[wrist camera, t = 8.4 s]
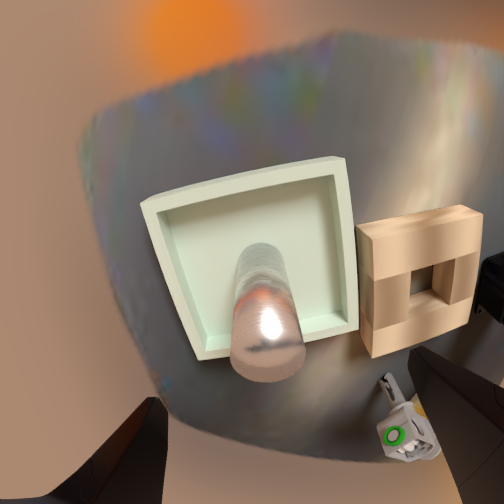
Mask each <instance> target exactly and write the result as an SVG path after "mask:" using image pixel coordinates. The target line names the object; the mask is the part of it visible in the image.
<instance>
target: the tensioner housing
mask: <svg viewBox="0 0 504 504" xmlns="http://www.w3.org/2000/svg"><path fill="white" fill-rule="evenodd" d="M482 225H483V214H481V213H479V212H477V211H474V210H472V209H470V208H467V207H465V206H463V205H455V206H450V207H445V208H440V209H434V210H429V211H424V212H419V213H414V214H409V215H404V216H399V217H394V218H390V219H385V220H380V221H375V222H370V223H365V224H360V225H356V236H357V248H358V264H359V284H360V336H361V338H362V340H363V342H364V344H365V346H366V348H367V350H368V352H369V354H370V356H371V358H375V357H379V356H382V355H385V354H388V353H391V352H394V351H397V350H400V349H403V348H406V347H409V346H412V345H415V344H417V343H420V342H423V341H425V340H428V339H431V338H433V337H436V336H438V335H441V334H443V333H446V332H448V331H450V330H453V329H455V328H457V327H460V326H462V325H464V324H466V323H468V319H469V315H470V311H471V306H472V301H473V296H474V291H475V285H476V279H477V273H478V266H479V258H480V249H481V239H482ZM431 265H434V266H433V278H432V288H431V289H428V290H425V291H421V292H418V293H415V294H412V295H410V282H411V271H414V270H417V269H421V268H424V267H428V266H431Z"/></svg>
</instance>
